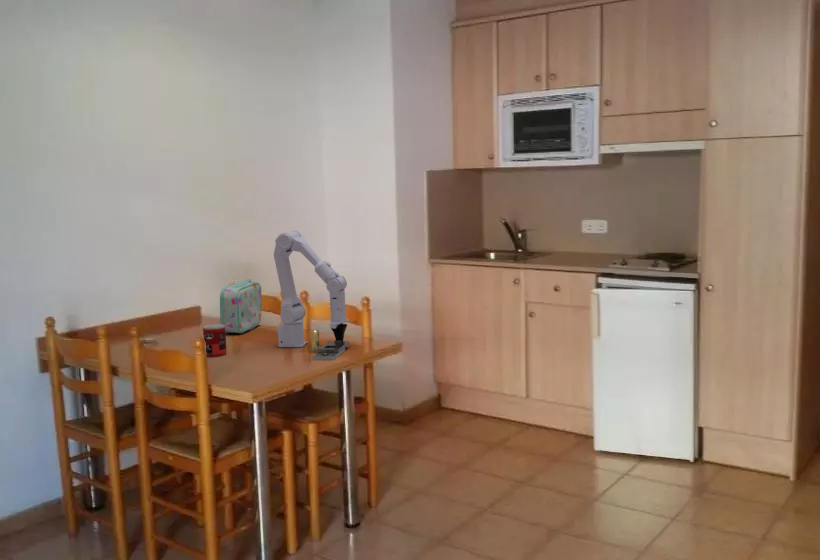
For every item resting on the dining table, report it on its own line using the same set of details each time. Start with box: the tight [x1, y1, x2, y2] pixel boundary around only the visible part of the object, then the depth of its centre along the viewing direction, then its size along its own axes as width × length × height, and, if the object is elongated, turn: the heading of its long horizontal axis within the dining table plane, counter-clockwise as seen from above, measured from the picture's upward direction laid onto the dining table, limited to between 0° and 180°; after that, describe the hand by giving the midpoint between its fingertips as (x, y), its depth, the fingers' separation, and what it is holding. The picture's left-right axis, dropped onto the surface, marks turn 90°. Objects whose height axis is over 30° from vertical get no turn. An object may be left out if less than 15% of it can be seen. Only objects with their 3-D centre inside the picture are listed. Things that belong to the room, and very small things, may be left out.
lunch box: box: [219, 278, 263, 334], centre depth 350 cm, size 27×10×21 cm, turn 169°
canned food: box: [202, 323, 228, 358], centre depth 303 cm, size 8×8×11 cm
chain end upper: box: [316, 339, 350, 353], centre depth 301 cm, size 8×14×2 cm, turn 168°
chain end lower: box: [311, 347, 346, 361], centre depth 295 cm, size 8×14×2 cm, turn 168°
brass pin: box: [310, 329, 321, 353], centre depth 302 cm, size 3×3×8 cm
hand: (339, 343), depth 309 cm, fingers closed
